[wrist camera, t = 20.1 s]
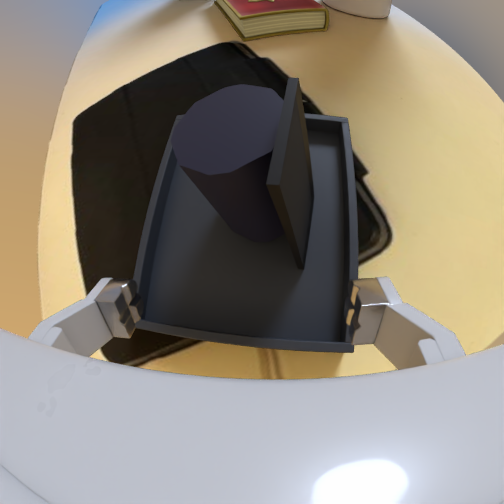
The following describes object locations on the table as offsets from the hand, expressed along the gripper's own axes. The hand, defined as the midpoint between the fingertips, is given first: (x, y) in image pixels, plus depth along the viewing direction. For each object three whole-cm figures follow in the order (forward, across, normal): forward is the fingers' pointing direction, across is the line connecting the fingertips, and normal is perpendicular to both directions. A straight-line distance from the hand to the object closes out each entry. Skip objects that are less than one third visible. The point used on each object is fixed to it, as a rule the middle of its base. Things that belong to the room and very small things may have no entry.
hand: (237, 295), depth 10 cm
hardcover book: (+36, -1, -25) cm, 44 cm away
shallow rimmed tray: (+10, 0, +1) cm, 10 cm away
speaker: (+10, 0, +1) cm, 10 cm away
